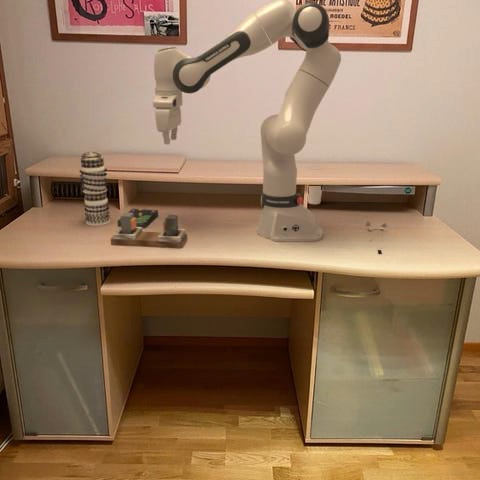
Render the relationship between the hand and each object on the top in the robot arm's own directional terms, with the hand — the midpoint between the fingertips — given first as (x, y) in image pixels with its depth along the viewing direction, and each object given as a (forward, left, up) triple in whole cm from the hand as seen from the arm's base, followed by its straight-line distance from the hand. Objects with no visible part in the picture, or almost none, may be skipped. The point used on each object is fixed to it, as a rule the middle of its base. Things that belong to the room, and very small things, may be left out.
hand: (170, 141), depth 164 cm
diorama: (-72, +8, -30) cm, 78 cm away
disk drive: (+13, +1, -30) cm, 32 cm away
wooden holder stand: (+3, +21, -29) cm, 36 cm away
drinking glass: (-52, -32, -29) cm, 68 cm away
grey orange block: (+10, +21, -27) cm, 35 cm away
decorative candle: (+27, +4, -29) cm, 40 cm away
